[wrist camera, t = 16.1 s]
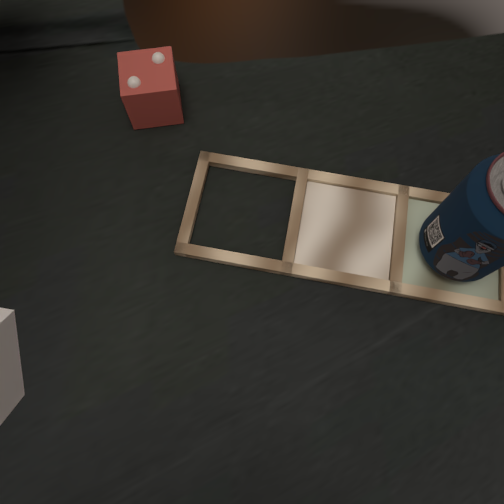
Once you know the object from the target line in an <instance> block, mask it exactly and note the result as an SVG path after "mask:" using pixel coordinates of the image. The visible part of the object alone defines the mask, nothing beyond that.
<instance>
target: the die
mask: <svg viewBox="0 0 504 504" xmlns="http://www.w3.org/2000/svg"><path fill="white" fill-rule="evenodd" d="M117 57H118V69H119V82H120V95H121V99H122V101H123V104H124V106H125V109H126V111H127V114H128V116H129V119H130V121H131V123H132V126H133V128H134V130H136V129H144V128H152V127H160V126H167V125H175V124H183V123H184V119H183V111H182V104H181V96H180V89H179V82H178V77H177V72H176V67H175V63H174V58H173V53H172V48H171V46H168V47H160V48H151V49H142V50H134V51H125V52H117Z"/></svg>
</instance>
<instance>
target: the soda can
mask: <svg viewBox="0 0 504 504" xmlns="http://www.w3.org/2000/svg"><path fill="white" fill-rule="evenodd" d="M419 245H420V250H421V253H422V255H423V257H424V259H425V261H426V262H427V263H428V265H429V266H430V267H431V268H432V269H433V270H434V271H435V272H437V273H438V274H440V275H441V276H443V277H445V278H448V279H450V280H454V281H459V282H471V281H476V280H479V279H482V278H484V277H485V276H487V275H489V274H491V273H493V272H494V271H496V270H498V269H500V268H501V267H503V266H504V152H503V153H502V154H498V155H494V156H491V157H488V158H486V159H484V160H483V161H481V162H480V163H479V164H477V165H476V166H475V168H474V169H473V170H472V171H471V172H470V173H469V174H468V175H467V176H466V177H465V178H464V179H463V180H462V181H461V182H460V183H459V184H458V186H457V187H456V188H455V189H454V190H453V191H452V192H451V193H450V194H449V195H448V196H447V197H446V198H445V199H444V200H443V201H442V203H441V204H440V205H439V206H438V207H437V208H436V209H435V210H434V211H433V212H432V213H431V214H430V215H429V216H428V217H427V218H426V220H425V221H424V223H423V224H422V227H421V229H420V233H419Z"/></svg>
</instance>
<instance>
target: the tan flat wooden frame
mask: <svg viewBox="0 0 504 504" xmlns="http://www.w3.org/2000/svg"><path fill="white" fill-rule="evenodd" d="M209 166H213V167H219V168H225V169H231V170H237V171H242V172H248V173H254V174H260V175H266V176H271V177H277V178H283V179H289V180H294V181H296V184H295V190H294V196H293V201H292V207H291V213H290V218H289V224H288V230H287V235H286V241H285V247H284V252H283V258H282V261H280V260H275V259H269V258H264V257H258V256H253V255H247V254H242V253H237V252H231V251H226V250H220V249H215V248H209V247H204V246H198V245H193V244H190V240H191V236H192V232H193V228H194V224H195V220H196V216H197V212H198V208H199V205H200V201H201V197H202V193H203V189H204V185H205V181H206V177H207V173H208V169H209ZM449 194H450V193H445V192H439V191H433V190H427V189H421V188H415V187H410V186H404V185H398V184H392V183H386V182H380V181H375V180H369V179H363V178H357V177H351V176H345V175H340V174H334V173H328V172H322V171H316V170H310V169H305V168H299V167H293V166H287V165H281V164H275V163H269V162H264V161H258V160H252V159H246V158H240V157H234V156H229V155H223V154H217V153H211V152H205V151H201V152H200V155H199V159H198V163H197V167H196V171H195V174H194V178H193V182H192V186H191V189H190V193H189V197H188V201H187V205H186V208H185V212H184V216H183V220H182V223H181V227H180V231H179V235H178V239H177V242H176V246H175V250H174V253H175V255H178V256H184V257H189V258H194V259H200V260H205V261H211V262H216V263H222V264H227V265H232V266H238V267H243V268H249V269H254V270H260V271H265V272H270V273H276V274H281V275H287V276H292V277H297V278H303V279H308V280H314V281H319V282H325V283H330V284H335V285H341V286H346V287H352V288H357V289H362V290H368V291H373V292H379V293H384V294H390V295H395V296H400V297H406V298H411V299H417V300H422V301H427V302H433V303H438V304H444V305H449V306H455V307H460V308H465V309H471V310H476V311H482V312H487V313H492V314H498V315H503V316H504V266H503V267H501V268H500V269H498V270H496V271H494V272H493V273H491V274H489V275H487V276H485V277H484V278H482V279H479V280H476V281H471V282H459V281H454V280H450V279H448V278H445V277H443V276H441V275H440V274H438V273H437V272H435V271H434V270H433V269H432V268H431V267H430V266H429V265H428V263H427V262H426V261H425V259H424V257H423V255H422V253H421V250H420V245H419V233H420V229H421V227H422V224H423V223H424V221H425V220H426V218H427V217H428V216H429V215H430V214H431V213H432V212H433V211H434V210H435V209H436V208H437V207H438V206H439V205H440V204H441V203H442V201H443V200H444V199H445V198H446V197H447V196H448V195H449ZM299 226H300V227H299ZM298 232H299V233H298ZM297 238H298V239H297ZM296 244H297V245H296ZM295 250H296V251H295ZM294 256H295V257H294ZM293 262H294V263H293Z"/></svg>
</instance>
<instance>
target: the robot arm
mask: <svg viewBox="0 0 504 504" xmlns="http://www.w3.org/2000/svg"><path fill="white" fill-rule="evenodd" d="M24 395H25V393H24V385H23V377H22V369H21V361H20V353H19V345H18V336H17V328H16V320H15V312H14V310H11V309H5V308H0V425H1V424H2V423H3V421H4V420H5V419H6V418H7V416H8V415H9V414H10V413H11V411H12V410H13V409H14V408H15V406H16V405H17V404H18V402H19V401H20V400H21V399H22V397H23V396H24Z"/></svg>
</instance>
